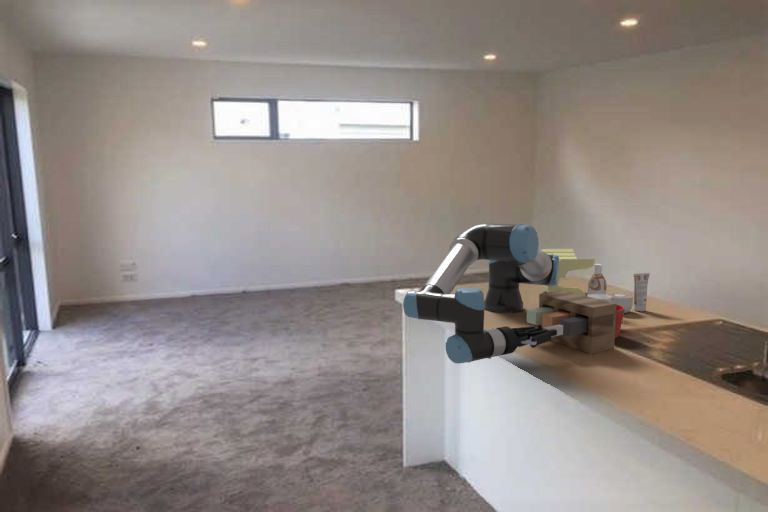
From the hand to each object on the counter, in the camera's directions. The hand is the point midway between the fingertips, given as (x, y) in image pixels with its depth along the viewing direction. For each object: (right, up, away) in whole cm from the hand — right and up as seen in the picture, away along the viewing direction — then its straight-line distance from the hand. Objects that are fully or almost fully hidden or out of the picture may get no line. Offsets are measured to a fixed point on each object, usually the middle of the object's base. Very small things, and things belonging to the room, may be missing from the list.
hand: (561, 329), depth 172 cm
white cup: (+23, -3, +34) cm, 42 cm away
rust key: (+2, 0, +10) cm, 10 cm away
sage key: (-1, +1, +16) cm, 16 cm away
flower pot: (+21, -5, +21) cm, 30 cm away
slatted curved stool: (+25, +5, +82) cm, 86 cm away
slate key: (+6, -1, +4) cm, 7 cm away
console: (+8, -6, +14) cm, 17 cm away
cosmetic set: (+37, 0, +51) cm, 63 cm away
